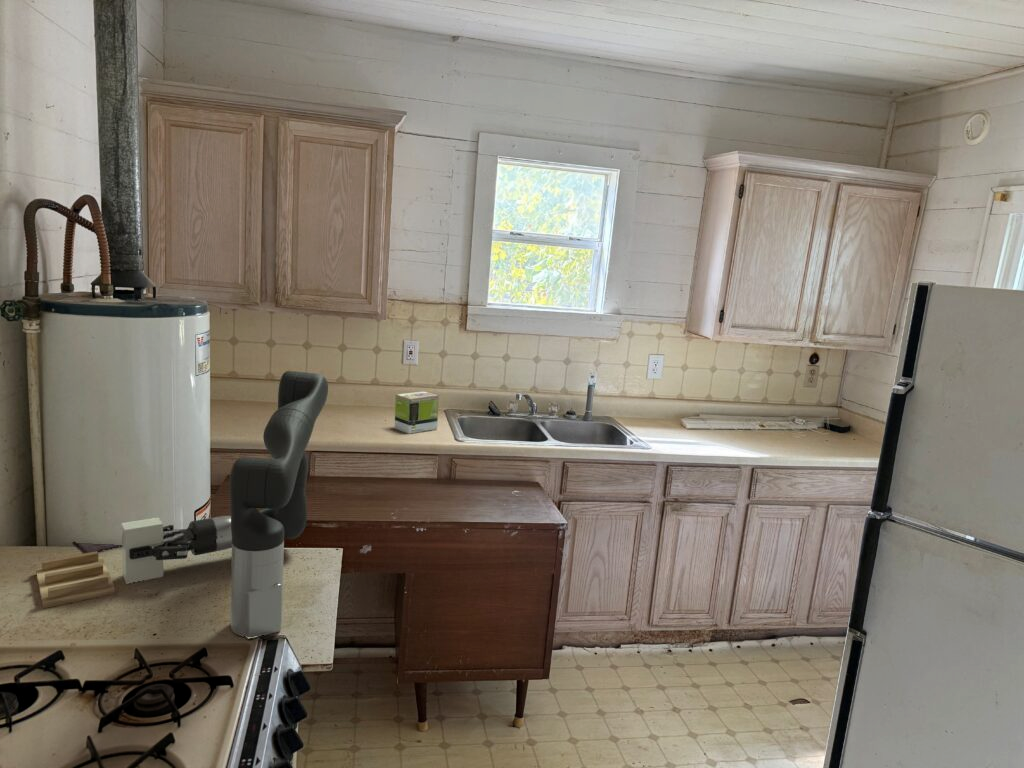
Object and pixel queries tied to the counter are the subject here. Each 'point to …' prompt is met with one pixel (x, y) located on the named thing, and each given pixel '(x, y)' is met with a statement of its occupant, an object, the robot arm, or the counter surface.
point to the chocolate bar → (96, 547)
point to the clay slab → (137, 537)
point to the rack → (73, 579)
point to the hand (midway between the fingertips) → (128, 550)
